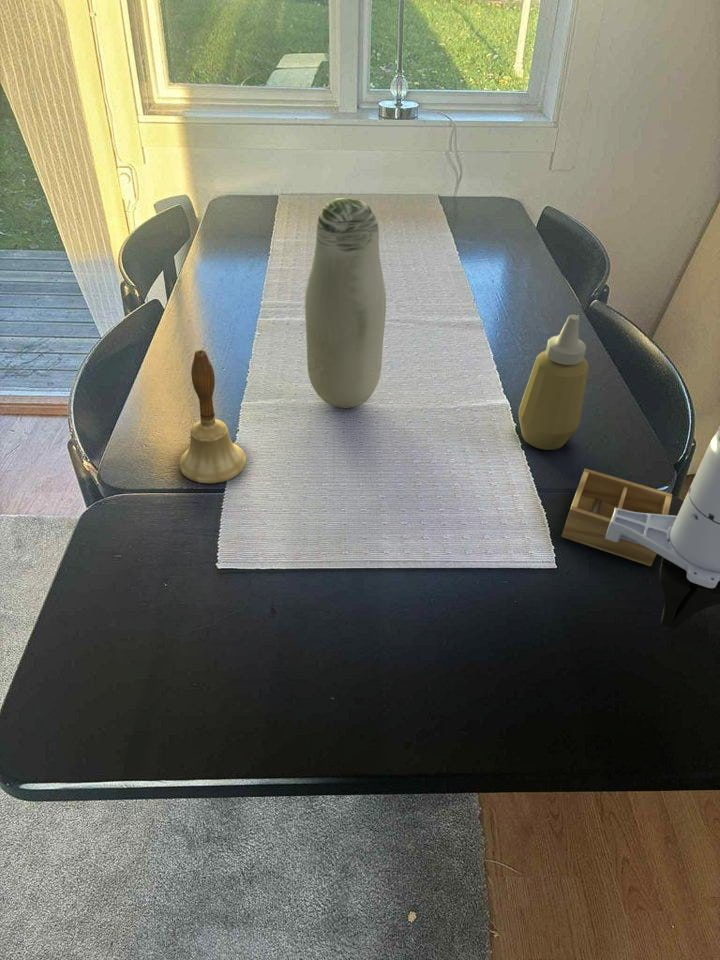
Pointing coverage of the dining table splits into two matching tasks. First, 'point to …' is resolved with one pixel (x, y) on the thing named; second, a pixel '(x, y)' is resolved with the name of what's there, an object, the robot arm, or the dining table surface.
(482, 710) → the dining table surface
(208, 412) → the hand bell
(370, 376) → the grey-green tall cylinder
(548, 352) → the squeeze bottle
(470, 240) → the dining table surface
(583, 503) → the cutlery caddy
